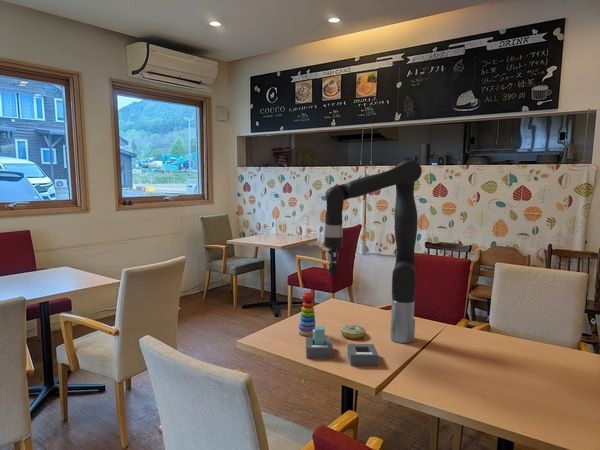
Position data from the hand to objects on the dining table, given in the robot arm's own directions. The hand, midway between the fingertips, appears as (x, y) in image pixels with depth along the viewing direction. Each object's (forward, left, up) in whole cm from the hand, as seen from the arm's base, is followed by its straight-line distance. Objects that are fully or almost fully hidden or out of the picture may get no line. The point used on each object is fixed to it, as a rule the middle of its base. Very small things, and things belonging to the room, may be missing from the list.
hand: (332, 273), depth 170 cm
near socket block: (-10, +20, -28) cm, 36 cm away
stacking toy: (+10, -6, -28) cm, 31 cm away
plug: (+6, +14, -28) cm, 32 cm away
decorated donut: (-10, -4, -29) cm, 31 cm away
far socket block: (+6, +14, -28) cm, 32 cm away
